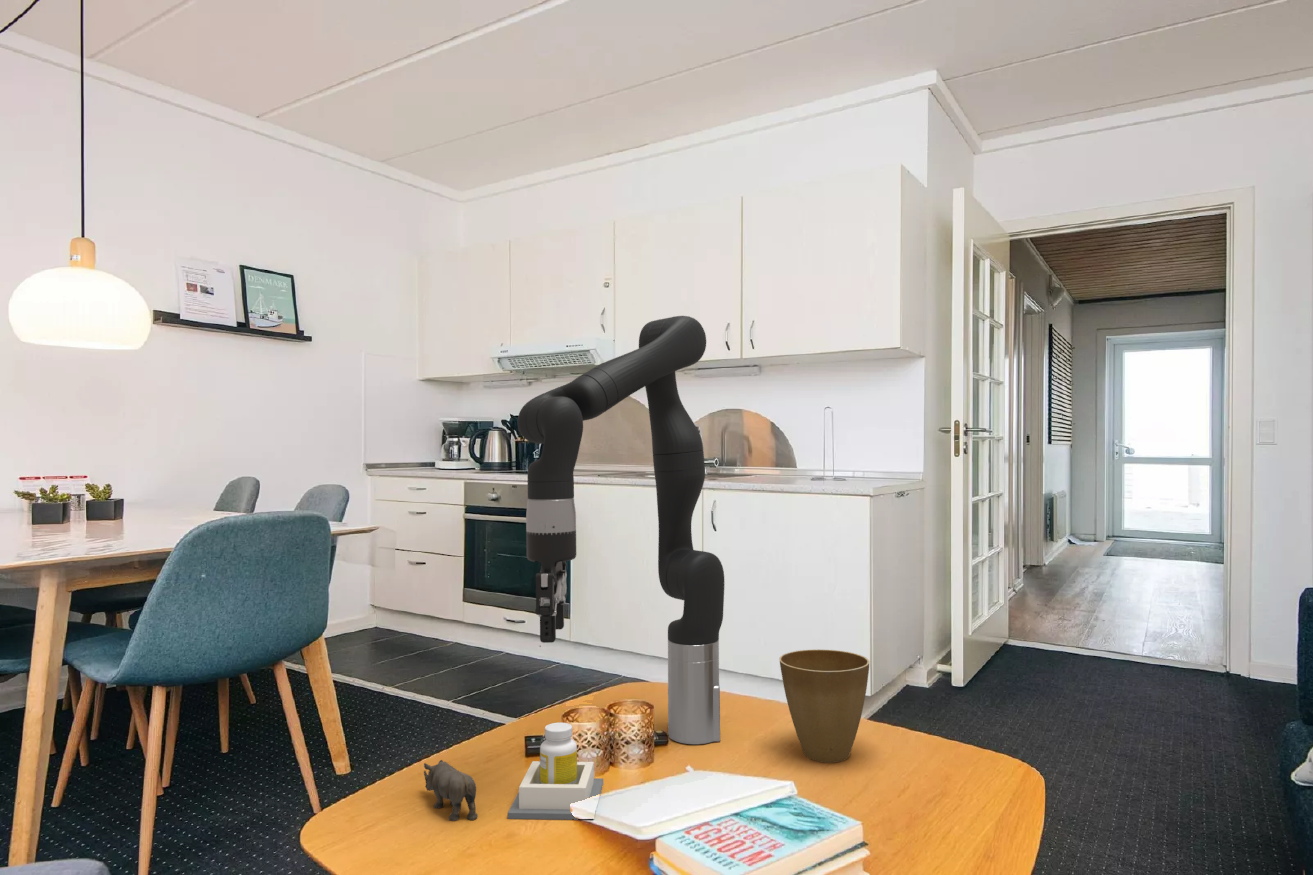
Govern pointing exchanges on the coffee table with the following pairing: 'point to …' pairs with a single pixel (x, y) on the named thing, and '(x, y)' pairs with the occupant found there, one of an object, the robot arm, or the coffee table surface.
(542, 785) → the box
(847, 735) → the plant pot
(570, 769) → the supplement bottle
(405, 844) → the coffee table surface
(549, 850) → the coffee table surface
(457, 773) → the rhino figurine
